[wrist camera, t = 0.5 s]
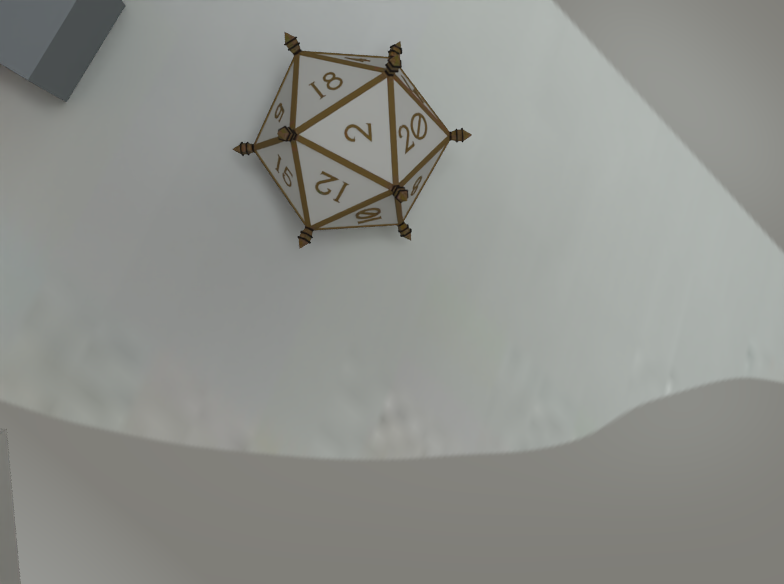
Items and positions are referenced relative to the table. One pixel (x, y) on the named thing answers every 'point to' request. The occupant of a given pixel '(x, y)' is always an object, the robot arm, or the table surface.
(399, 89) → the game die
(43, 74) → the slate block
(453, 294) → the table surface
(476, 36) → the table surface
